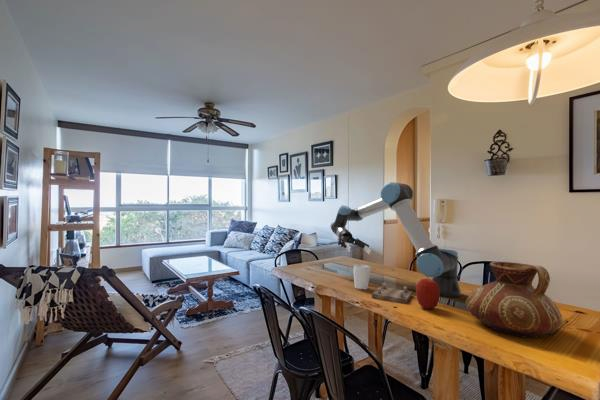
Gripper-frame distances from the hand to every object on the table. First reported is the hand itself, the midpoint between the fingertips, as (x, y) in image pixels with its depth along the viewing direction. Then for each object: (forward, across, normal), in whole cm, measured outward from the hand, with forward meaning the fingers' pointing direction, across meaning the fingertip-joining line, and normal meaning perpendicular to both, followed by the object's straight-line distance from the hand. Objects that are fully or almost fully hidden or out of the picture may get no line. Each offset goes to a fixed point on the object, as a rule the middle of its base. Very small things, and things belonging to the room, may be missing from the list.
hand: (360, 251), depth 174 cm
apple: (+46, -11, -3) cm, 47 cm away
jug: (+70, -27, +8) cm, 75 cm away
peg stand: (+28, -7, -9) cm, 31 cm away
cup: (+12, -1, -16) cm, 20 cm away
